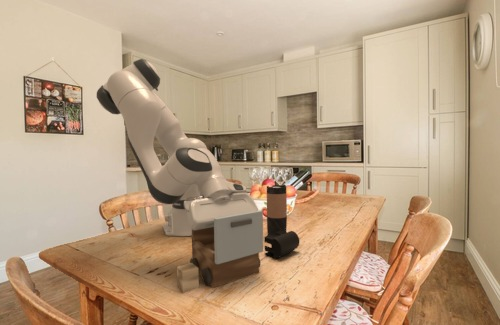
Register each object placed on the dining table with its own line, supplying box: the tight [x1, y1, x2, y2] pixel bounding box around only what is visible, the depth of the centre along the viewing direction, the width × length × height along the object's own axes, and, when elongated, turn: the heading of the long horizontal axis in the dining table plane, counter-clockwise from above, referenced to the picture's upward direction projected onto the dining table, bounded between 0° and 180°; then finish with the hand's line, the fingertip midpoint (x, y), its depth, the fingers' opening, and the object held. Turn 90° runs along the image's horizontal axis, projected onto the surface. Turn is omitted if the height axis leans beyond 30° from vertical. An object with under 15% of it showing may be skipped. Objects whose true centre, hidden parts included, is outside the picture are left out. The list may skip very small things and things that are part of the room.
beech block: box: [176, 262, 200, 294], centre depth 67 cm, size 4×4×5 cm
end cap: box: [263, 230, 300, 259], centre depth 88 cm, size 10×7×7 cm
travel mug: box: [266, 184, 288, 236], centre depth 103 cm, size 8×8×20 cm
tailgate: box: [214, 209, 264, 264], centre depth 69 cm, size 2×14×11 cm, turn 125°
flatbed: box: [189, 227, 261, 288], centre depth 76 cm, size 13×16×12 cm
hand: (234, 236), depth 70 cm, fingers closed
